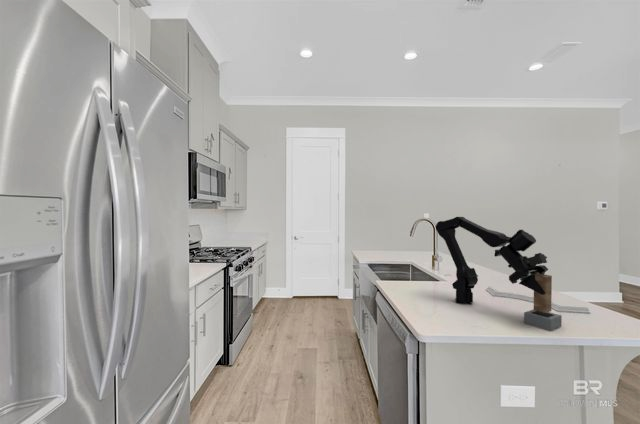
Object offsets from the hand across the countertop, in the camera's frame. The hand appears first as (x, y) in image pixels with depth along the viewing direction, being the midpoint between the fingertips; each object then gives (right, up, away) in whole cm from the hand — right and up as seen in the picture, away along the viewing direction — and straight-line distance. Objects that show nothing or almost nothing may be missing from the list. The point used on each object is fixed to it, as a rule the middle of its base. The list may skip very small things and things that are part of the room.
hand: (546, 293), depth 107 cm
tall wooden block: (-1, -7, +1) cm, 7 cm away
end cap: (-1, -12, +1) cm, 12 cm away
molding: (+16, -13, +31) cm, 37 cm away
